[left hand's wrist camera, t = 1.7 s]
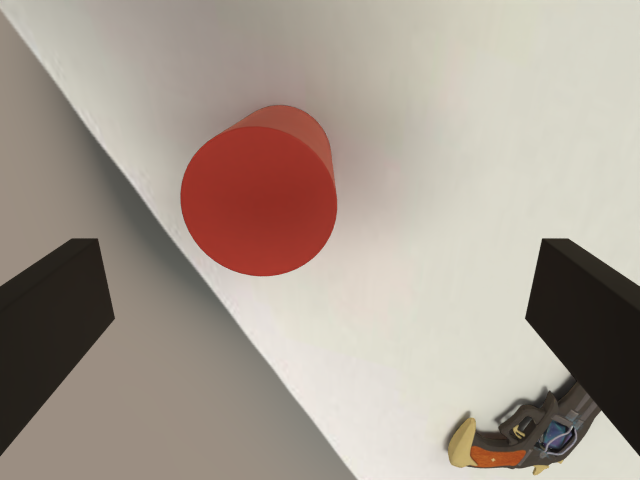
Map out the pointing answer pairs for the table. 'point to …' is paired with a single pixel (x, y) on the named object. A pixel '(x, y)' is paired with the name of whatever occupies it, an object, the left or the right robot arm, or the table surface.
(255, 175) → the canister
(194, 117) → the table surface
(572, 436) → the toy gun
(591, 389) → the left robot arm
